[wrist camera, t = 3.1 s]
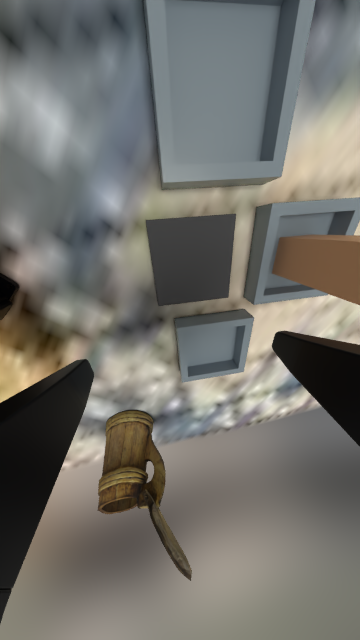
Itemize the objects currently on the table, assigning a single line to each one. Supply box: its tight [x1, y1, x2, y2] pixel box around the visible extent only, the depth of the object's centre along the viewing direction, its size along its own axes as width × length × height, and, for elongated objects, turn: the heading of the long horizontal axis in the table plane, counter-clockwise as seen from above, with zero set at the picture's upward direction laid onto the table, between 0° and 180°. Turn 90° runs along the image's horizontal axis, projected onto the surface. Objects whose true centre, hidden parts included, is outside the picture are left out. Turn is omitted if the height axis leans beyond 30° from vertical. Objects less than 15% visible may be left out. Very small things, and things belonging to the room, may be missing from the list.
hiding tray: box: [244, 198, 360, 305], centre depth 18 cm, size 10×10×2 cm
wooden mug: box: [98, 410, 192, 581], centre depth 24 cm, size 9×14×18 cm, turn 101°
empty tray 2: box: [175, 309, 254, 382], centre depth 23 cm, size 10×10×2 cm
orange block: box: [272, 234, 360, 305], centre depth 13 cm, size 4×4×14 cm
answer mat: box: [146, 214, 236, 306], centre depth 18 cm, size 9×9×1 cm
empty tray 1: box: [143, 0, 316, 190], centre depth 11 cm, size 10×10×2 cm
